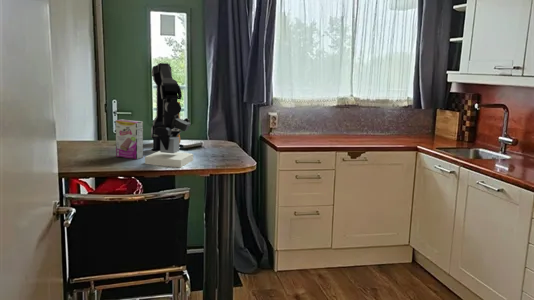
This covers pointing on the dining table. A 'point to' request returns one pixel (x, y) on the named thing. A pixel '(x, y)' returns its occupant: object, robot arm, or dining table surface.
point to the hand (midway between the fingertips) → (169, 148)
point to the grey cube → (171, 145)
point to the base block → (169, 159)
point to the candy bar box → (129, 139)
